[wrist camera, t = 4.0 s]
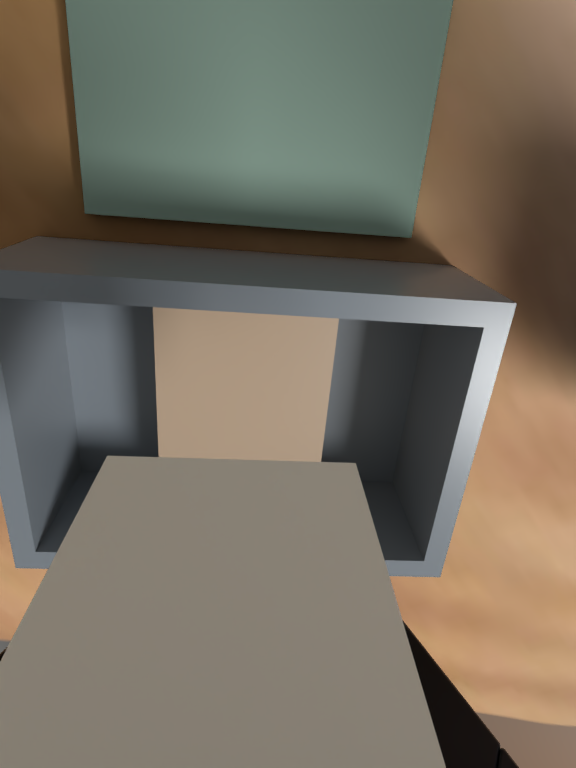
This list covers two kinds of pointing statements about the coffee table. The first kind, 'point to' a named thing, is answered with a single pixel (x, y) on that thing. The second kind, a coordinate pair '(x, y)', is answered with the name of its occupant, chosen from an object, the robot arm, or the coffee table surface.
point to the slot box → (242, 377)
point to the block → (216, 628)
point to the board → (257, 109)
